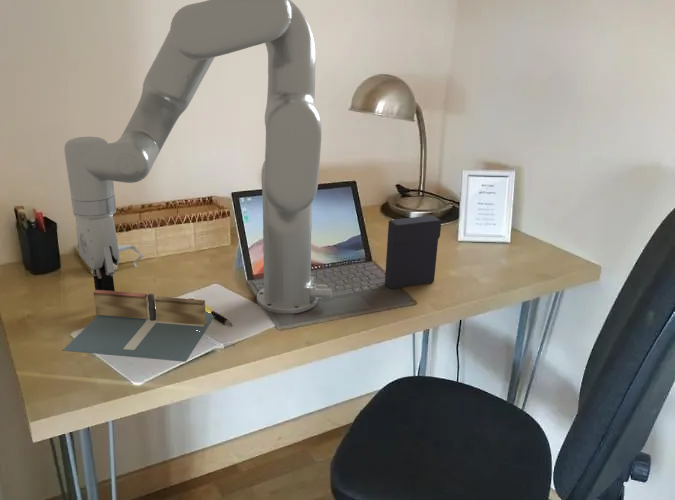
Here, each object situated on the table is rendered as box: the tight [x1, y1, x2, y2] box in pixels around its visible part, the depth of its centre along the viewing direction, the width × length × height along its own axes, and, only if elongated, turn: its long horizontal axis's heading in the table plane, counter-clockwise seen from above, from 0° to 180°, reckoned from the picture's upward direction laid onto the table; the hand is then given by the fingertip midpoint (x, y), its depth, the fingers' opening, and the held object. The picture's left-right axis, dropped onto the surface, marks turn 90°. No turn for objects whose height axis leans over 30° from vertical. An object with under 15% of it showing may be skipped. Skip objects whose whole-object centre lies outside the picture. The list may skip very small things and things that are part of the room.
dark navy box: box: [384, 214, 442, 290], centre depth 134 cm, size 11×4×15 cm, turn 113°
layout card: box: [62, 305, 218, 362], centre depth 114 cm, size 22×18×1 cm
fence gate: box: [93, 290, 149, 319], centre depth 117 cm, size 10×1×5 cm, turn 83°
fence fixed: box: [147, 293, 207, 325], centre depth 116 cm, size 11×1×5 cm, turn 83°
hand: (105, 293), depth 121 cm, fingers closed
